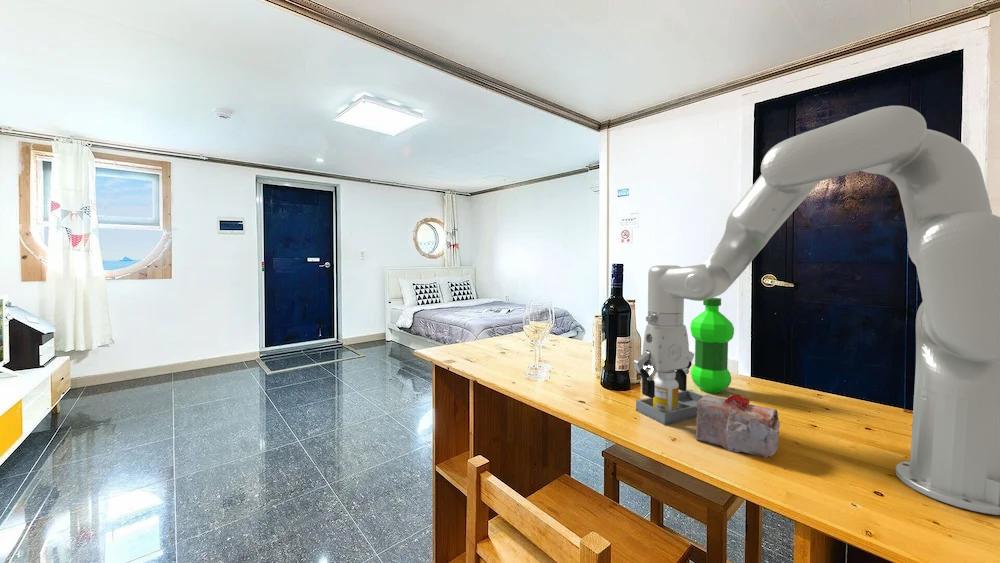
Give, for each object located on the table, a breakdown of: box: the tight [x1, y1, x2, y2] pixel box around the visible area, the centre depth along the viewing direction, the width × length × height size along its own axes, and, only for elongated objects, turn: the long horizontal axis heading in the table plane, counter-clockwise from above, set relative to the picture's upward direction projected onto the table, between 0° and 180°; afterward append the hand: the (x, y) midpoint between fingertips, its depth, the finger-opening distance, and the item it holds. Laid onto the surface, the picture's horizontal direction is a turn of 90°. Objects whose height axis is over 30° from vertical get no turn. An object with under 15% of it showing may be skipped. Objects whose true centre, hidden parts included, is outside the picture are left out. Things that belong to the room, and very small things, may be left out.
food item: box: [695, 394, 781, 458], centre depth 74 cm, size 14×8×10 cm, turn 51°
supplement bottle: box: [653, 370, 680, 412], centre depth 89 cm, size 5×5×10 cm
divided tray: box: [635, 389, 704, 426], centre depth 91 cm, size 9×17×2 cm, turn 113°
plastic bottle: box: [689, 297, 735, 394], centre depth 104 cm, size 10×10×25 cm
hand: (664, 392), depth 89 cm, fingers open, 9 cm apart
